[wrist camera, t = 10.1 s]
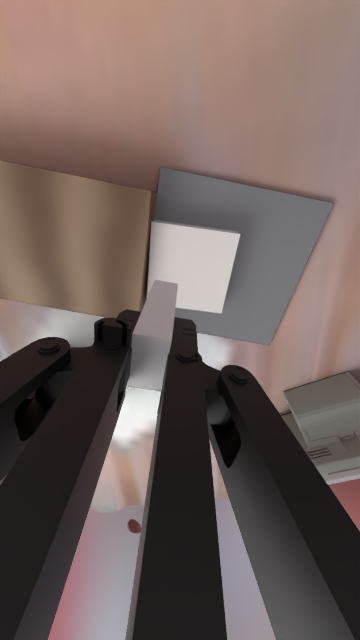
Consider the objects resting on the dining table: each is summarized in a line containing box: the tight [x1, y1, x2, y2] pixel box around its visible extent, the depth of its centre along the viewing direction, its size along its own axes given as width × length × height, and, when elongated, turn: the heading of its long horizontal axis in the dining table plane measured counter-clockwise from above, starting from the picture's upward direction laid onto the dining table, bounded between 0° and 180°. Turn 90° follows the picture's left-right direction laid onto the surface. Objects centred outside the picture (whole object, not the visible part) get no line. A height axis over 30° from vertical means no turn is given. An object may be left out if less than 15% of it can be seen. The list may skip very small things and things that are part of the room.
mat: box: [145, 167, 333, 345], centre depth 24 cm, size 16×16×1 cm
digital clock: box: [281, 372, 360, 484], centre depth 27 cm, size 16×9×11 cm, turn 107°
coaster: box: [147, 220, 240, 313], centre depth 22 cm, size 8×8×2 cm
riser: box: [0, 160, 157, 318], centre depth 21 cm, size 18×12×4 cm, turn 80°
